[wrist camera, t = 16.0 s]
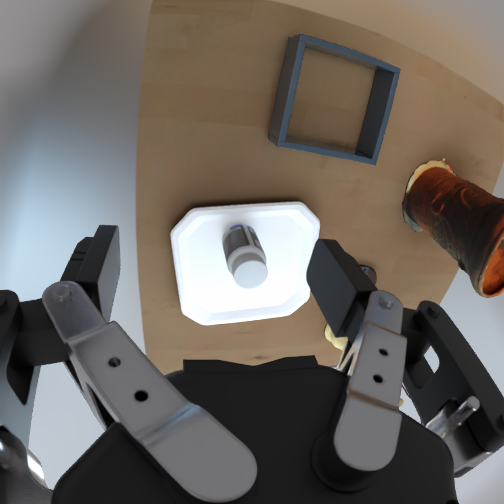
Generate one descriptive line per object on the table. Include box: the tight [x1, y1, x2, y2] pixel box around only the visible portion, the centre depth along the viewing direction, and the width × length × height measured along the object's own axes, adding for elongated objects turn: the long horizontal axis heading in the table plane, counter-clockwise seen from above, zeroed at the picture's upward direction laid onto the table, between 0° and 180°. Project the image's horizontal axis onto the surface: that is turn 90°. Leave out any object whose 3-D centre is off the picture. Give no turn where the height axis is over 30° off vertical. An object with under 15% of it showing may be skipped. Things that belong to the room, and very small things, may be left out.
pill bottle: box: [222, 223, 268, 289], centre depth 39 cm, size 5×5×8 cm
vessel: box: [402, 158, 504, 298], centre depth 39 cm, size 14×14×20 cm
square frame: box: [268, 34, 400, 166], centre depth 34 cm, size 14×14×4 cm
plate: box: [170, 201, 320, 325], centre depth 47 cm, size 21×21×2 cm
